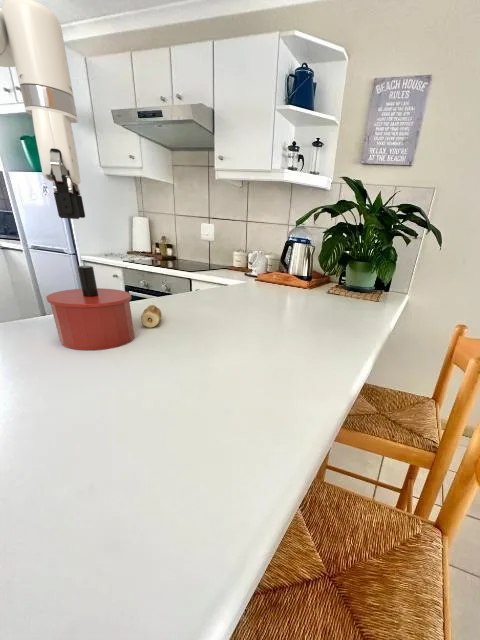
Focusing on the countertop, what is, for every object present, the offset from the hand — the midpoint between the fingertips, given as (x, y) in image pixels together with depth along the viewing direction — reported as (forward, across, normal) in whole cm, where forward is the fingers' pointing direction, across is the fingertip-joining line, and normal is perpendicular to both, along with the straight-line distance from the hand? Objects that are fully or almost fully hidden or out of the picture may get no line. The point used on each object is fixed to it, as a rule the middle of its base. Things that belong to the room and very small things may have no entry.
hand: (73, 217), depth 63 cm
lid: (+14, +7, +1) cm, 16 cm away
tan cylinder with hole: (+23, -3, +12) cm, 26 cm away
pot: (+23, +7, +1) cm, 24 cm away
